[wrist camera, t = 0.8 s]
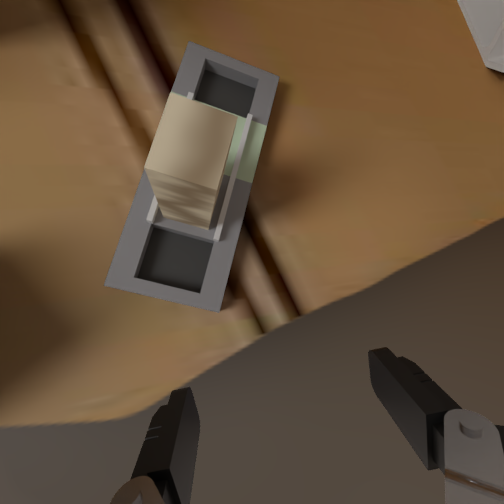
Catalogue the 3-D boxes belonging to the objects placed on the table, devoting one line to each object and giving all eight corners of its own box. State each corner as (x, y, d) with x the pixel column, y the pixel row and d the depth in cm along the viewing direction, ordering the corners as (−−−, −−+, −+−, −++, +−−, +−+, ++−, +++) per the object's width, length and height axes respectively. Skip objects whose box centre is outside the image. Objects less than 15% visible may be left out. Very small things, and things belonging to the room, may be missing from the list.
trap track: (109, 286, 29) (100, 285, 26) (189, 54, 36) (188, 33, 33) (217, 311, 31) (220, 313, 28) (275, 87, 38) (281, 70, 35)
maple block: (163, 217, 30) (144, 167, 18) (179, 168, 31) (170, 92, 19) (208, 230, 30) (217, 190, 19) (221, 181, 32) (237, 116, 20)
